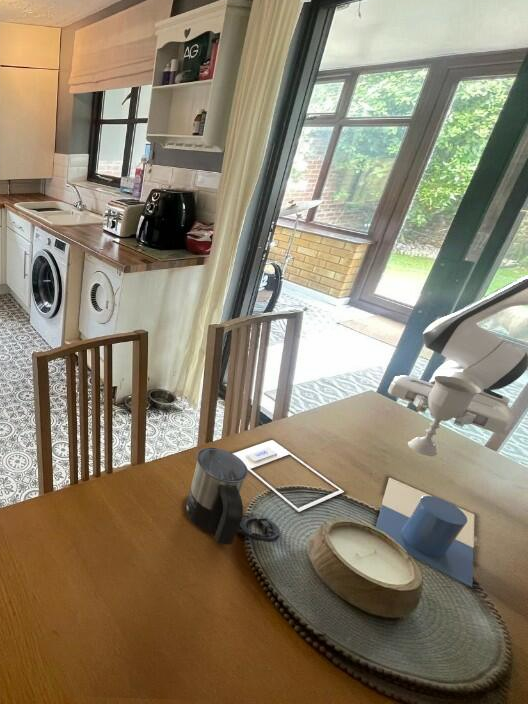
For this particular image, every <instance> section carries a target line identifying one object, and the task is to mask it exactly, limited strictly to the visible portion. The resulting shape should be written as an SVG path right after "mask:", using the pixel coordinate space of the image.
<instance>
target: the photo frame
mask: <svg viewBox="0 0 528 704" xmlns="http://www.w3.org/2000/svg"><path fill="white" fill-rule="evenodd" d="M232 454H234V455H235V456H237V457H238V458H239V459H241V460H242V461H243V462H244V464H245V465H246V467H247V469H248V472H250V473H251V474H252V475H253V476H255V477H256V478H257V479H258V480H259V481H261V482H262V483H263V484H264V485H266V486H267V487H268V489H270V490H272V491H273V492H274V493H275V494H276V495H278V496H279V497H280V498H281V499H283V501H285V502H286V503H287V504H288V505H289V506H290V507H292V508H293V509H294V510H296V512H297V513H300V512H302V511H305V510H307V509H308V508H311V507H314V506H316V505H318V504H320V503H322V502H325V501H327V500H329V499H331V498H334V497H337V496H338V495H340V494H343V493H345V490H344V489H342V488H340V487H339V486H337V485H336V484H335V483H333V482H331V481H330V479H327V477H325V476H323V475H322V474H320V473H319V472H318V471H316V470H315V469H314V468H313V467H311V466H310V465H308V464H307V463H306V462H304V461H303V460H302V459H300V458H298V456H295V455H294V454H293V453H292V452H290V451H289V450H287V449H286V448H285V447H284V446H282V445H280V444H279V443H278V442H276V441H275V440H273V439H271V440H268V441H264V442H262V443H259V444H256V445H253V446H250V447H247V448H244V449H242V450H239V451H236V452H232ZM289 455H290V457H292V458H294V459H295V460H296V461H298V462H299V463H301V464H302V465H303V466H304V467H306V468H307V469H309V470H310V471H312V472H313V473H314V474H316V475H317V476H318V477H319V478H321V479H323V480H324V481H325V482H326V483H328V484H330V485H331V486H332V487H333V488H336V489H337V491H334V492H332V493H329V494H327V495H325V496H323V497H320V498H318V499H316V500H313V501H311V502H309V503H307V504H305V505H302V506H300V507H297V506H296V505H294V504H293V503H292V502H291V501H290V500H289V499H287V498H286V497H285V496H284V495H282V494H281V493H280V492H279V491H278V490H276V488H274V486H272V485H271V484H270V483H268V482H267V481H266V480H264V479H263V478H262V477H261V476H260V475H258V473H256V472H255V471H253V470H252V469H254V468H258V467H259V466H262V465H265V464H267V463H270V462H274V461H276V460H278V459H282V458H283V457H287V456H289Z"/></svg>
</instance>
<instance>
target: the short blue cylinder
mask: <svg viewBox="0 0 528 704" xmlns="http://www.w3.org/2000/svg"><path fill="white" fill-rule="evenodd" d="M457 507H458V506H456V505H455V504H453V503H451V502H449V501H448V500H445V499H443V498H440V497H437V496H433V495H431V496H424V497H422V498H421V499H420V501H419V502H418V504H417V506H416V507H415V509H414V511H413V512H412V514H411V516H410V518H409V519H408V521H407V523H406V524H405V526H404V528H403V529H402V536H403V538H404V539H405V541H406V542H407V543H408V544H409V545H411V546H412V547H413V548H415V549H416V550H418V551H420V552H421V553H424V554H426V555H429V556H432V557H442V556H444V555H445V554H446V552H447V551H448V549H449V548H450V546H451V545H452V543H453V542H454V540H456V537H457V536H458V535H459V533H460V532H461V530H462V529H463V527H464V526H465V524H466V523H467V517H466V515H465V514H464V513H463V512H462V511H461V510H460V509H459V508H460V507H458V508H457Z"/></svg>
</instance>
